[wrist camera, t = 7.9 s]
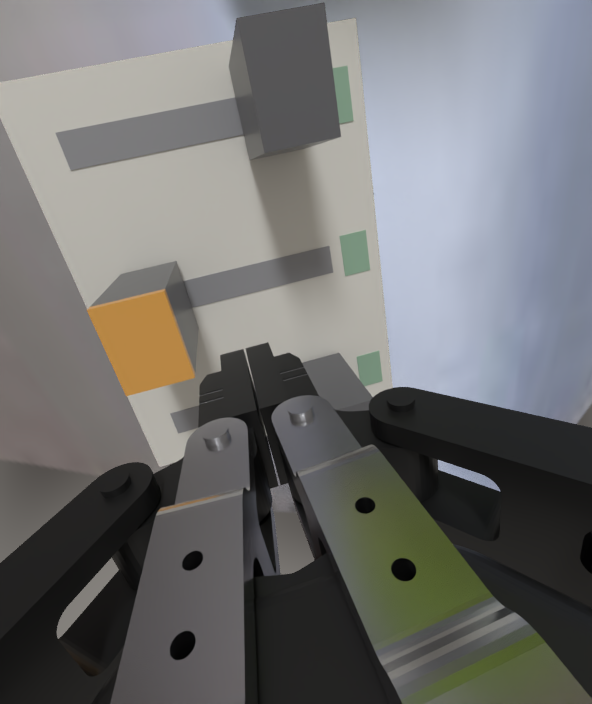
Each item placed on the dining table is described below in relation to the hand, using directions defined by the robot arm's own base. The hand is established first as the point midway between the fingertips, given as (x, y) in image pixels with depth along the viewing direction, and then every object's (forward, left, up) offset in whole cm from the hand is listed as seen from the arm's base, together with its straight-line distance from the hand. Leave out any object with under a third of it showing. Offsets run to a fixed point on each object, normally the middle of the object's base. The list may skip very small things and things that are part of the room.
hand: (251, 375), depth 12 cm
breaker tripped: (-4, 0, -11) cm, 12 cm away
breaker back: (+4, -8, -11) cm, 14 cm away
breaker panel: (+1, 0, -14) cm, 14 cm away
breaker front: (+4, +8, -11) cm, 15 cm away
